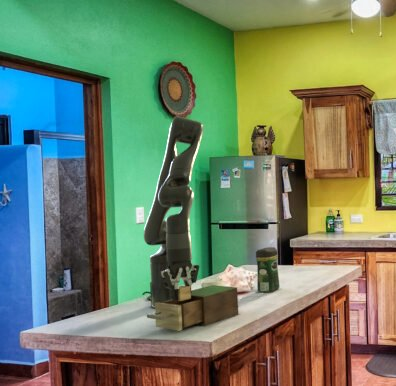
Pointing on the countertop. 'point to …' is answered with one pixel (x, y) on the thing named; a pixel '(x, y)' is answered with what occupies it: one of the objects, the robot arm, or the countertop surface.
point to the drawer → (178, 313)
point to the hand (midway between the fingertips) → (181, 298)
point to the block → (184, 293)
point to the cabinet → (217, 302)
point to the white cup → (212, 282)
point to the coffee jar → (267, 269)
